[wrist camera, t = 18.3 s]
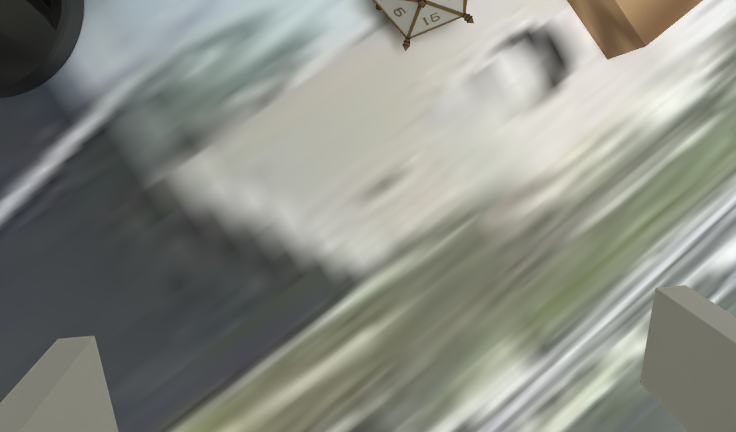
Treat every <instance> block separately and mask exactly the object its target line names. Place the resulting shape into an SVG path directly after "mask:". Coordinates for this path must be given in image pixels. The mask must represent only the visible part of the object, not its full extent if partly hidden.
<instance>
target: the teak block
mask: <svg viewBox="0 0 736 432" xmlns="http://www.w3.org/2000/svg"><path fill="white" fill-rule="evenodd" d="M701 1H702V0H568V2H569V3H570V5H571V6H572V8H573V9H574V11H575V12H576V13H577V15H578V16H579V18H580V19H581V21H582V22H583V24H584V25H585V27H586V28H587V30H588V31H589V33H590V34H591V35H592V37H593V38H594V40H595V41H596V43H597V44H598V46H599V47H600V49H601V50H602V52H603V53H604V54H605V56H606V57H607V59H610V58H613V57H616V56H619V55H622V54H624V53H627V52H630V51H633V50H636V49H639V48H642V47H645V46H647V45H648V44H649V43H650V42H652V41H653V40H654V39H655V38H656V37H658V36H659V35H660V34H661V33H663V32H664V31H665V30H666V29H668V28H669V27H670V26H671V25H673V24H674V23H675V22H676V21H678V20H679V19H680V18H681V17H683V16H684V15H685V14H686V13H688V12H689V11H690V10H691V9H692V8H694V7H695V6H696V5H697V4H699V3H700V2H701Z"/></svg>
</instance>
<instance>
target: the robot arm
mask: <svg viewBox="0 0 736 432" xmlns="http://www.w3.org/2000/svg"><path fill="white" fill-rule="evenodd" d="M82 17H83V0H0V98H3V97H9V96H13V95H17V94H20V93H23V92H26V91H28V90H31V89H33V88H35V87H36V86H38V85H40V84H41V83H43V82H45V81H46V80H47V79H49V78H50V77H51V76H52V75H53V74H54V73H55V72H56V71H57V70H58V69H59V68H60V67H61V66H62V65H63V64H64V62H65V61H66V60H67V58H68V57H69V55H70V53H71V51H72V50H73V48H74V46H75V43H76V41H77V38H78V35H79V32H80V28H81V23H82ZM640 383H641V384H642V385H643V386H644V387H645V388H646V390H647V391H648V392H649V393H650V394H651V395H652V396H653V397H654V398H655V399H656V400H657V401H658V402H659V403H660V404H661V405H662V406H663V407H664V408H665V409H666V410H667V411H668V412H669V413H670V414H671V415H672V416H673V417H674V418H675V419H676V420H677V421H678V422H679V423H680V424H681V425H682V426H683V427H684V428H685V429H686V430H687V431H688V432H736V317H735V316H733V315H732V314H730V313H728V312H727V311H725V310H724V309H722V308H720V307H719V306H717V305H716V304H714V303H713V302H711V301H709V300H708V299H706V298H705V297H703V296H701V295H700V294H698V293H697V292H695V291H693V290H692V289H690V288H689V287H687V286H685V285H684V286H672V287H661V288H656V289H655V295H654V301H653V307H652V313H651V319H650V325H649V331H648V337H647V343H646V349H645V355H644V361H643V367H642V373H641V379H640ZM0 432H118V429H117V425H116V421H115V417H114V412H113V408H112V404H111V400H110V396H109V392H108V388H107V384H106V380H105V376H104V372H103V368H102V364H101V360H100V356H99V352H98V348H97V344H96V340H95V336H85V337H74V338H62V339H57V341H56V342H55V343H54V344H53V345H52V346H51V347H50V348H49V349H48V351H47V352H46V353H45V354H44V355H43V356H42V357H41V358H40V359H39V361H38V362H37V363H36V364H35V365H34V366H33V367H32V368H31V369H30V371H29V372H28V373H27V374H26V375H25V376H24V377H23V378H22V379H21V381H20V382H19V383H18V384H17V385H16V386H15V387H14V388H13V389H12V391H11V392H10V393H9V394H8V395H7V396H6V397H5V398H4V399H3V401H2V402H1V403H0Z"/></svg>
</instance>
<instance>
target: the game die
mask: <svg viewBox="0 0 736 432" xmlns="http://www.w3.org/2000/svg"><path fill="white" fill-rule="evenodd" d="M373 1H374V2H375V3H376V9H379V10H382V11H383V13H384V14H385V15H386V16H387V17H388V18H389V19H390V20H391V22H392V23H393V24H394V25H395V26H396V27H397V28H398V30H399V31H400V32H401V33H402V34H403V35H404V36H405V40H404V41H403V42H404V44H403V46H404V49H405V51H406V50H407V48H408V47H410V46H409V45H410V38H413V37H415V36H418V35H420V34H423V33H425V32H427V31H430V30H432V29H435V28H437V27H439V26H442V25H444V24H447V23H449V22H452V21H454V20H456V19H459V18H461V17H463V18H464V20H465V21H467V23H474V22H473V19H472V16H470V14H466V5H467V0H373Z"/></svg>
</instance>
